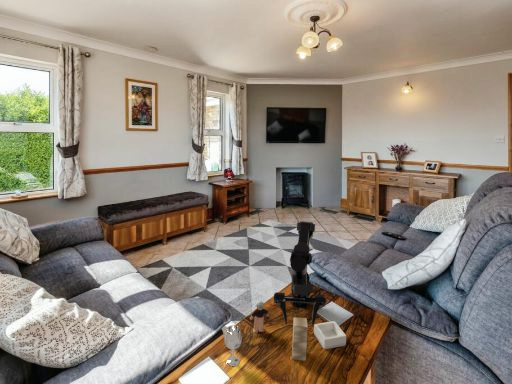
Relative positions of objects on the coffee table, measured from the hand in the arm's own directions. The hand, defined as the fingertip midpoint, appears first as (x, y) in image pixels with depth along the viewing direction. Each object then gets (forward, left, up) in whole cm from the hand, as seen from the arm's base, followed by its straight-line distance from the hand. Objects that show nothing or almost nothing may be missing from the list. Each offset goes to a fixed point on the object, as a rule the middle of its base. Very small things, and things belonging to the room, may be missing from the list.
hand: (299, 325), depth 100 cm
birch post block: (+1, -3, -10) cm, 10 cm away
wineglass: (-19, -14, -10) cm, 26 cm away
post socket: (+10, +9, -10) cm, 17 cm away
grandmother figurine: (-16, +4, -10) cm, 20 cm away
